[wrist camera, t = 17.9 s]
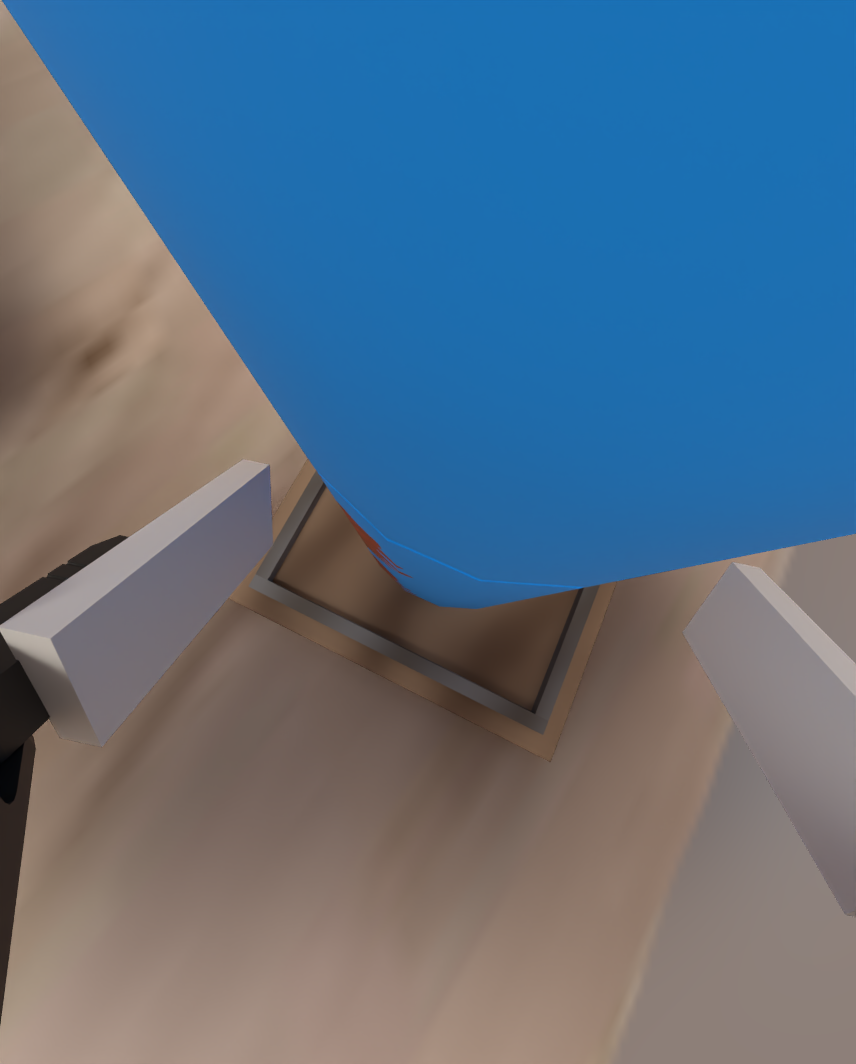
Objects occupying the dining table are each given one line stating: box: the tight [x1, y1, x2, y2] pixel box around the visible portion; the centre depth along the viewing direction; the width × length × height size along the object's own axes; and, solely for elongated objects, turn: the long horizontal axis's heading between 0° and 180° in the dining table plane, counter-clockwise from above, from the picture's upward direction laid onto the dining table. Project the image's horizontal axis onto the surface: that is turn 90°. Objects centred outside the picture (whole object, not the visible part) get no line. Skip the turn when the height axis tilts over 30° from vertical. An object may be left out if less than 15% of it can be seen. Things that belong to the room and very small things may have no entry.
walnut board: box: [228, 459, 617, 762], centre depth 25 cm, size 21×21×2 cm
